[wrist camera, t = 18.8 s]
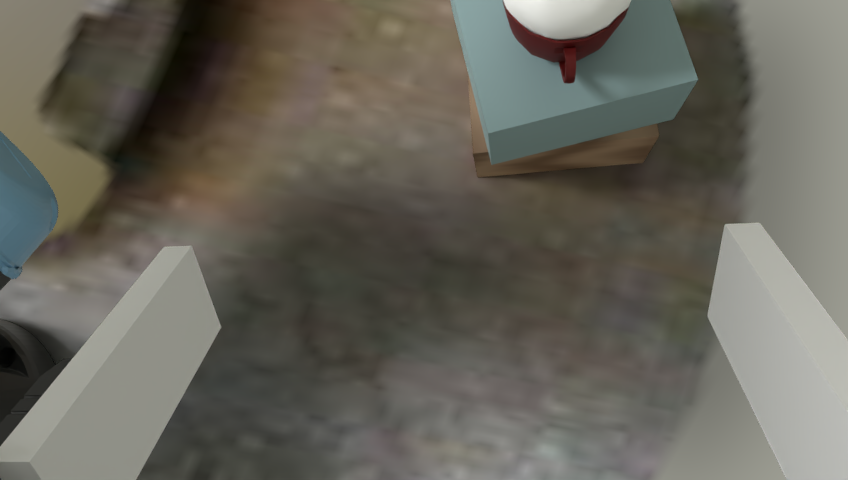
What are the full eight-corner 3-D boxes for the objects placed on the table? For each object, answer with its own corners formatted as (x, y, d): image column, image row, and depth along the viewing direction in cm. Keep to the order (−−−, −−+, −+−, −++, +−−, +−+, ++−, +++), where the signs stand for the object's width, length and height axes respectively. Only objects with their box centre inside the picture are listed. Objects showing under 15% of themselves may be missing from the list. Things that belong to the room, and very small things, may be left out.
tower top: (491, 164, 37) (488, 133, 32) (452, 10, 39) (443, -41, 34) (673, 119, 36) (698, 79, 31) (620, -37, 38) (635, -96, 33)
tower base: (477, 178, 42) (473, 153, 37) (468, 36, 44) (462, -5, 39) (641, 164, 40) (659, 135, 36) (622, 18, 43) (636, -27, 38)
